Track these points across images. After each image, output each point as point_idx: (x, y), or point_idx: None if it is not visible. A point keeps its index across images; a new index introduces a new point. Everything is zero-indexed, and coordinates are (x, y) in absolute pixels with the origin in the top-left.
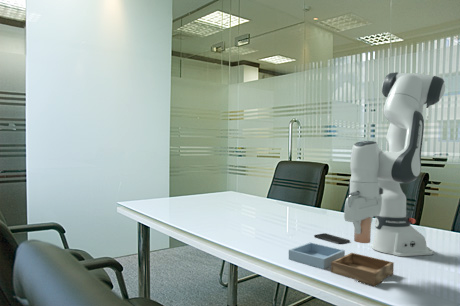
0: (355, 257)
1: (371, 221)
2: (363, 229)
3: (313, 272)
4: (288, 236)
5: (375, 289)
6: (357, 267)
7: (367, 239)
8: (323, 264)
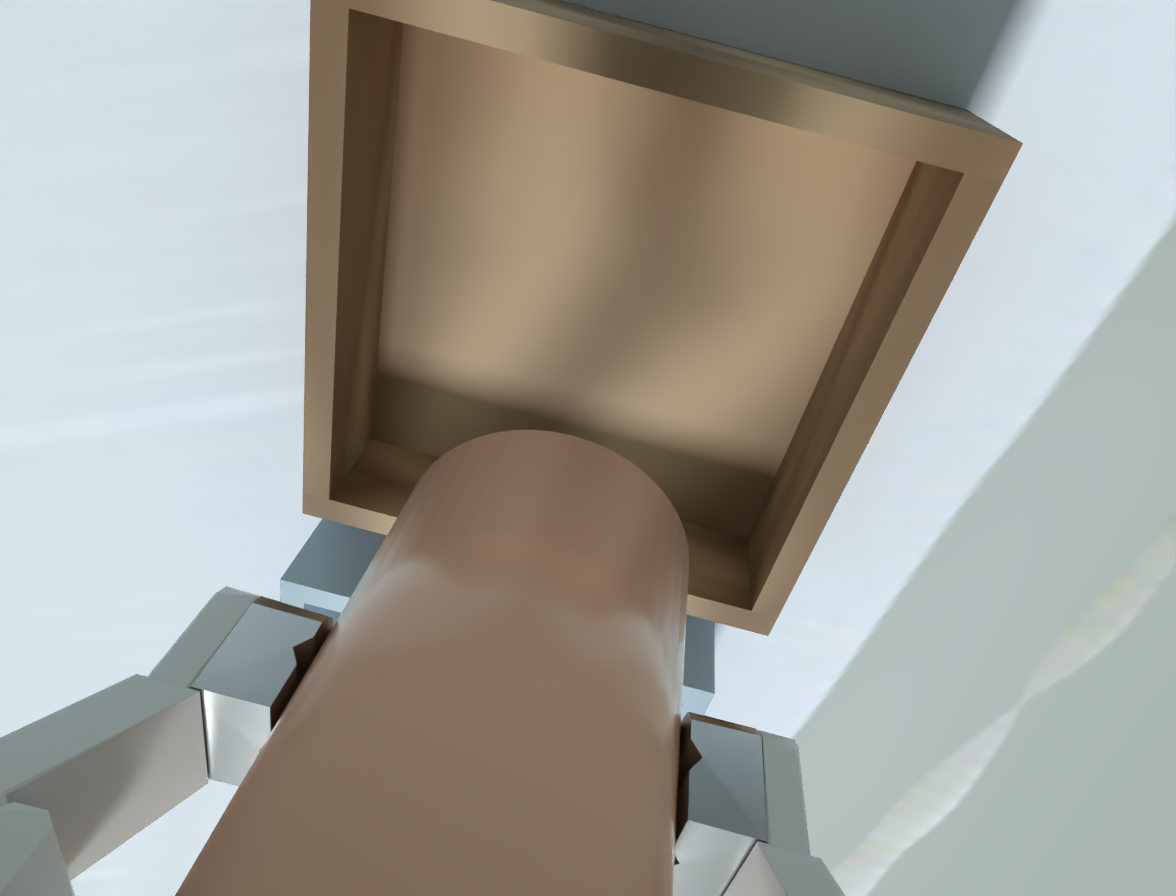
0: (345, 451)
1: (27, 752)
2: (671, 765)
3: (792, 661)
4: (98, 881)
5: (1054, 87)
6: (476, 379)
7: (633, 513)
8: (713, 654)
